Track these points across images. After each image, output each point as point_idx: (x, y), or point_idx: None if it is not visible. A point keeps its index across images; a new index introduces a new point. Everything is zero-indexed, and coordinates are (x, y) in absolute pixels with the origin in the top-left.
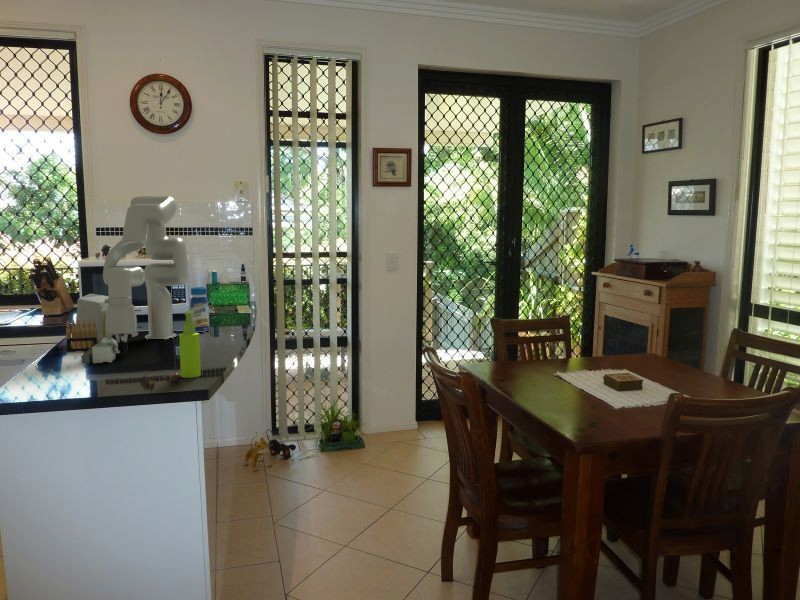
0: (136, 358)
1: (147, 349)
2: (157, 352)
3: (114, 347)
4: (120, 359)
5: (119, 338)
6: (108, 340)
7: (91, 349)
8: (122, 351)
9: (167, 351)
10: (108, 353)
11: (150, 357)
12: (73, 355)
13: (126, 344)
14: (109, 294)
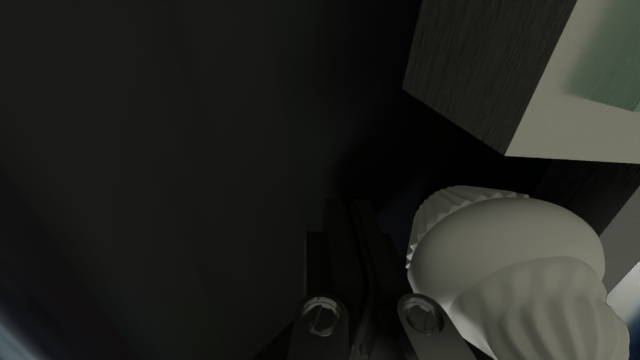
0: (188, 44)
1: (211, 352)
2: (96, 269)
3: (478, 94)
4: (354, 43)
5: (415, 352)
6: (555, 325)
7: (629, 248)
8: (345, 209)
9: (30, 284)
10: None
11: (38, 55)
12: (616, 294)
13: (308, 275)
14: None
